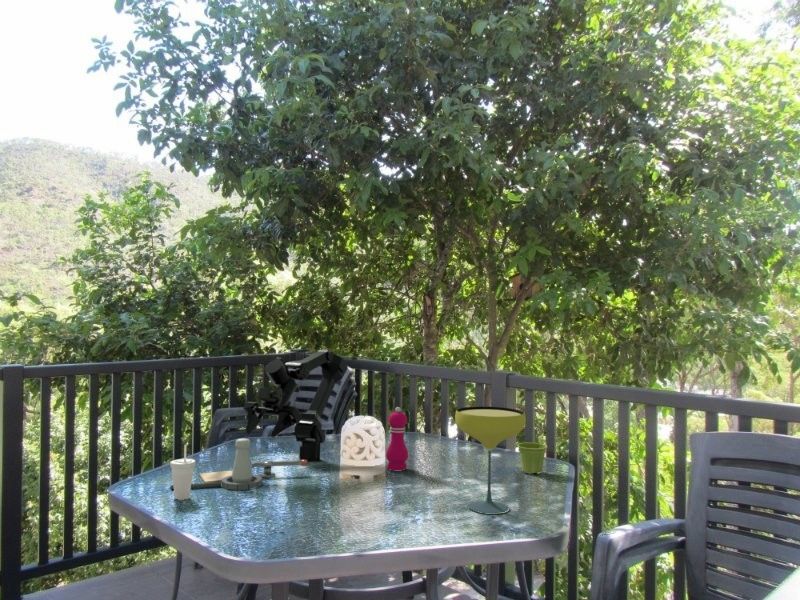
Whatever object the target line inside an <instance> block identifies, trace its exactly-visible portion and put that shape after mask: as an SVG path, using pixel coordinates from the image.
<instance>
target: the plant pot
mask: <svg viewBox="0 0 800 600" xmlns="http://www.w3.org/2000/svg"><path fill="white" fill-rule="evenodd" d="M516 446H517V447H518V451H519V455H520V465H521V471H522V472H523V471H524V472H530V473H538V472H541V471H542V472H543V466H544V460H545V454H546V450H547V449H548V446H547V445H546V444H543V443H539V442H519V443H518V444H517V445H516ZM524 472H523V473H524Z"/></svg>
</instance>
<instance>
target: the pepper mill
mask: <svg viewBox="0 0 800 600" xmlns="http://www.w3.org/2000/svg"><path fill="white" fill-rule="evenodd" d="M388 423H389V425H390V427H389V432H390V433H391V440H390V443H389V444H388V447H387V449H386V453H385V459H386V460H387V461H388V462H387V465H386V468H388V469H391V470H403V469H406V468H407V466H408V464H407V463H406V462H407V461H408V459H409V451H408V448H407V446H406V444H405V439H404V436H405V432H406V427H405V425H407V423H408V417H407V415H406V414H405V413H404V412H402V409H401V407H399V406H396V407H395V410H394V412H392V413H391V414H389V416H388ZM388 469H387V470H388ZM406 470H407V469H406Z"/></svg>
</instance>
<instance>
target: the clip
mask: <svg viewBox="0 0 800 600" xmlns="http://www.w3.org/2000/svg"><path fill="white" fill-rule="evenodd" d="M307 465H308V462H307V460H305V459H303V460H300V459H299V460H276V461H275V460H264V461H254V460H253V461H251V469H252V468H253V469H254V468H257V467H258V468H260V467H262V468H264V467H271V468H272V467H285V466H286V467H287V466H289V467H290V466H291V467H292V466H302V467H307Z"/></svg>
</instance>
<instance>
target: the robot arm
mask: <svg viewBox="0 0 800 600" xmlns="http://www.w3.org/2000/svg"><path fill="white" fill-rule="evenodd" d="M319 367H320V368H321V369H320V370H321V371H320V372H321V376H322V379H321V381H320V383H319V385H318V388H317V390H316V392H315V394H314V397H313V398H312V401H311V403H310V405H309V408H308V410H307V411H306V412H300V411H299V410H298V408H297V407H296V405H291V398H292V396H293V394H294V393H300V388H299V384H298V383H297V382H296V381H300V382H301V381H304V380H306V379H307V378H308V377H309V376H310V373H311V371H313V370H315V369H317V368H319ZM264 371H265V373H266V375H267V376H268V377H269V379H270V380H271V382H272V384H273V385H276V386H275V387H274V388H269V387H259V388H258V391H257V394H256V399H259V400H261V401H262V402H261V404H262V405H263V406H264V407H262V406H261V405H259V403H258V402H257V401H255V402H253V401H246V402H245V403H244V406H243V407H242V410H244V412H245V413H246V414H247V425H246V429H245V434H247V435H250V434H251V433H252V432H253V431H254V429H255V428H256V427H257V426H258V425H259V423H260V422H261V419H263V417H264V415H267V416H271V417H272V416H273V417H278V420H277V421H276V423H275V425H274V428H273V429H272V431H271V434H270V437H271V438H275V437H276V436H278V435H279V434H281V433H282V432H284V431H285V430H286V429H289V428H290V427H292V426H294V427H293V428H294V430H293V431H294V436H295V441H296V442H300V445H299V446H298V458H299V459H298V460H299V461H300V460H303V459H305V460H307V463H309V462H321V461H322V459H321V444H323V443H324V442H325V441H326V433H325V432H324V430H323V429H322V428H323V422H322V415H323V413H324V411H325V408H326V407H327V404H328V402H329V399H330V397H331V394H332V393H333V390H334V388H335V385H336V384H337V383H338V382H340V380H342V379H343V377H344V376H345V375H346V373H347V371H348V363H347V362H346V361H345V359H343V357H341V356H339V355H337V354H336V353H334V352H333V351H332V350H331V349H319V350H317V352H314V353H313V354H310V355H309V356H306V357H305V358H302V359H301V360H291V361H287V362H286V363H285V361H284V358H282V357H276V358H274V360H272V361H270V362H268V363H267V364H266V365H265V367H264Z"/></svg>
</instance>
